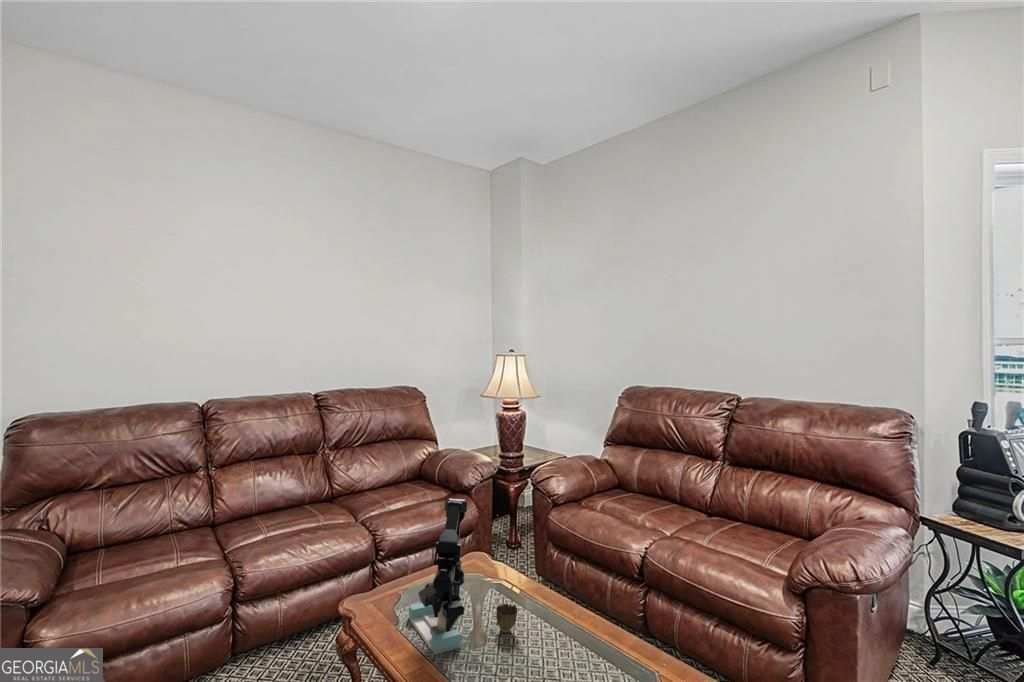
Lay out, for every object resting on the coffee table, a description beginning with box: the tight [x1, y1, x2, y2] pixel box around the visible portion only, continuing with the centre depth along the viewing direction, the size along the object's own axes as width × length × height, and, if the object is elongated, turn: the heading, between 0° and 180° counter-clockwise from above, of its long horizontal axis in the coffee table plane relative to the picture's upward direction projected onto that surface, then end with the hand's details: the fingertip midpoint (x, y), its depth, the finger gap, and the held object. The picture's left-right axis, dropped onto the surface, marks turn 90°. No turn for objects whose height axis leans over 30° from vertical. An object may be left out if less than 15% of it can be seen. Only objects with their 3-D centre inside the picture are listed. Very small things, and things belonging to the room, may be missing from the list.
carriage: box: [430, 610, 454, 636], centre depth 173 cm, size 6×4×8 cm
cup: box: [495, 603, 518, 634], centre depth 183 cm, size 8×7×8 cm
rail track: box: [407, 602, 462, 656], centre depth 179 cm, size 9×23×4 cm, turn 32°
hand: (441, 624), depth 173 cm, fingers open, 9 cm apart
